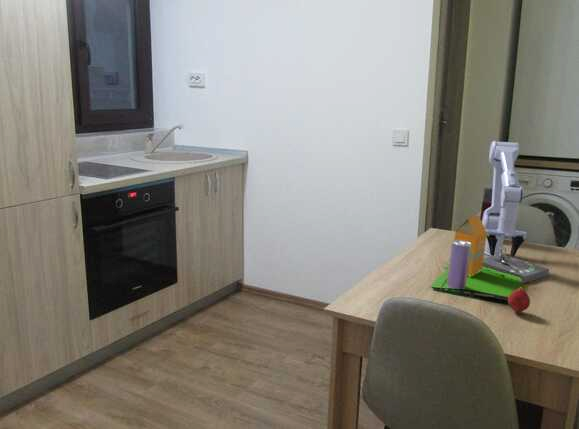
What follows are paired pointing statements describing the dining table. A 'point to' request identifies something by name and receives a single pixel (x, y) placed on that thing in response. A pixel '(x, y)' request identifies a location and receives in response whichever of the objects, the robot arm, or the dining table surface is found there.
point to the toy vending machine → (486, 199)
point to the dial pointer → (505, 258)
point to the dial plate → (524, 268)
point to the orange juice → (473, 241)
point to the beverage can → (459, 264)
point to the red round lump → (519, 300)
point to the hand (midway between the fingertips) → (502, 255)
